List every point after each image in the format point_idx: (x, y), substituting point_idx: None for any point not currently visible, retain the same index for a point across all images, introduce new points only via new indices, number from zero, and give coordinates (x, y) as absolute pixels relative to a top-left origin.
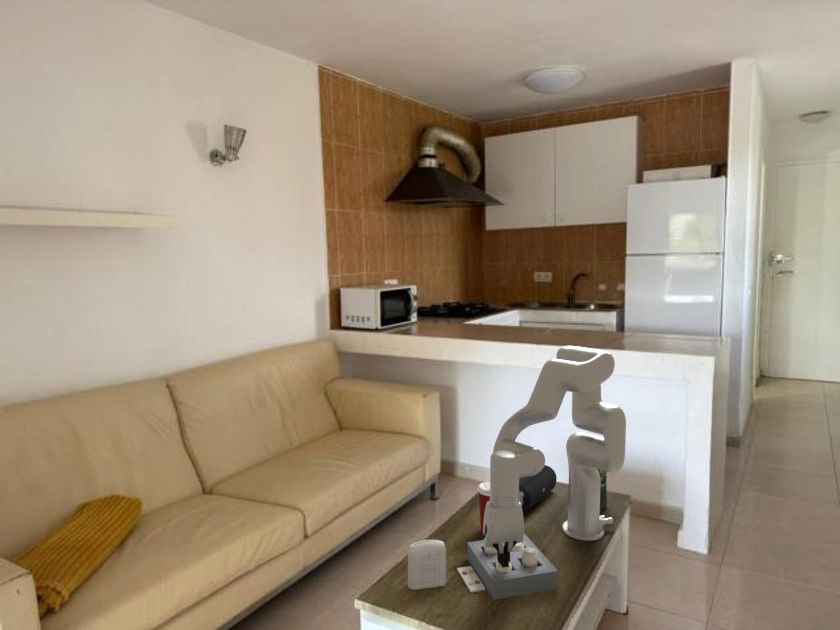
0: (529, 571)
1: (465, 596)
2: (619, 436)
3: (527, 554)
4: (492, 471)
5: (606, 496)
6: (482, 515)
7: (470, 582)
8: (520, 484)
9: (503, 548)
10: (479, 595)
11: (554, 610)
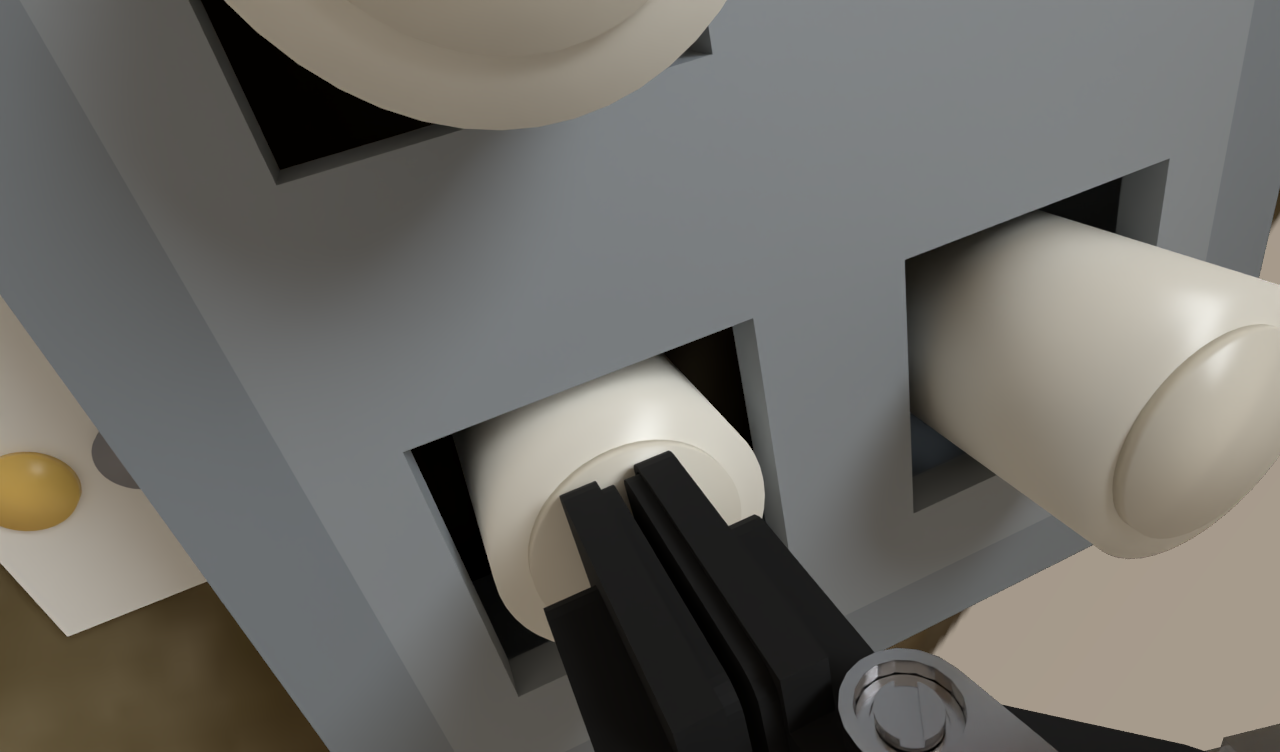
0: (936, 561)
1: (5, 693)
2: None
3: (1123, 529)
4: None
5: None
6: None
7: (16, 480)
8: None
9: (790, 721)
10: (216, 633)
11: (889, 648)
